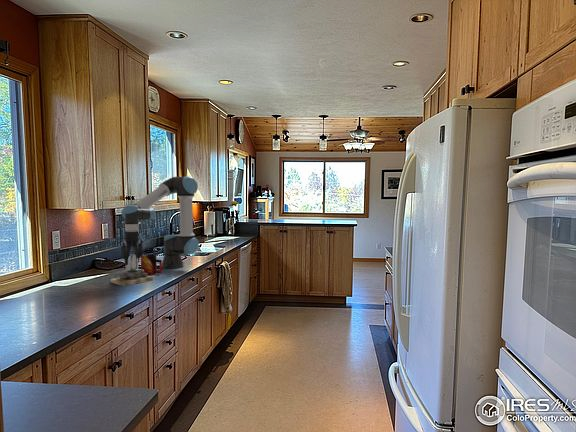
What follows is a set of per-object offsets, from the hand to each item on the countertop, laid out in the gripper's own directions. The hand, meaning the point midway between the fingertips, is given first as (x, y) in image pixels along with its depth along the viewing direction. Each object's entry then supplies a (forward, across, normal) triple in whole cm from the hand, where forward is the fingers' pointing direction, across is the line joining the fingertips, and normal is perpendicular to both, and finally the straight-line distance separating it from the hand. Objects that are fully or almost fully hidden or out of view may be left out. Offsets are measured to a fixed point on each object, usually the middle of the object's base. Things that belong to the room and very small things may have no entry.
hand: (132, 269), depth 231 cm
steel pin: (+5, 0, 0) cm, 5 cm away
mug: (+8, -20, -9) cm, 23 cm away
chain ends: (+7, 0, 0) cm, 7 cm away
